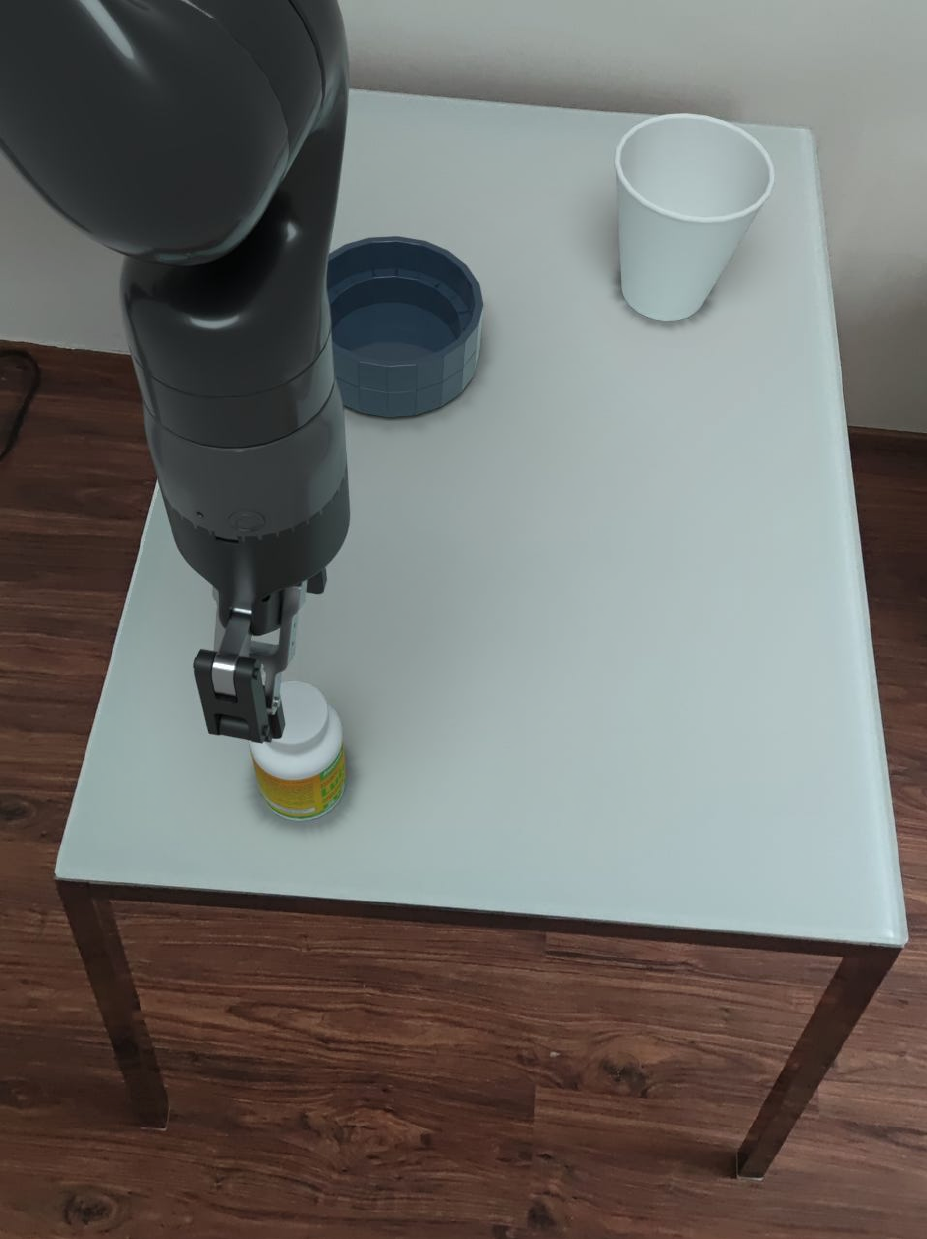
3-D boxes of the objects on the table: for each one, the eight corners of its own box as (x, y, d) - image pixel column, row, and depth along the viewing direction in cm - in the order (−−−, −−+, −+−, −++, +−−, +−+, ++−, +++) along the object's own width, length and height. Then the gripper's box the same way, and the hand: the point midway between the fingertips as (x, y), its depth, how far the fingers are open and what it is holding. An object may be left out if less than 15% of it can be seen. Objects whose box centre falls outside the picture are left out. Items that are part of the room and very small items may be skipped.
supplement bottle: (336, 830, 74) (329, 763, 66) (249, 815, 74) (231, 746, 66) (354, 750, 77) (349, 677, 68) (270, 736, 77) (256, 661, 69)
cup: (673, 367, 95) (709, 244, 84) (560, 288, 99) (581, 160, 88) (764, 293, 100) (808, 167, 89) (652, 220, 104) (682, 91, 93)
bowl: (287, 405, 91) (281, 348, 86) (329, 282, 98) (325, 223, 93) (460, 435, 90) (465, 380, 85) (490, 310, 97) (496, 252, 92)
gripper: (210, 311, 52) (250, 531, 66) (99, 585, 45) (170, 769, 58) (382, 339, 51) (386, 555, 65) (299, 621, 44) (323, 798, 58)
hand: (284, 656), depth 62 cm, fingers open, 8 cm apart
